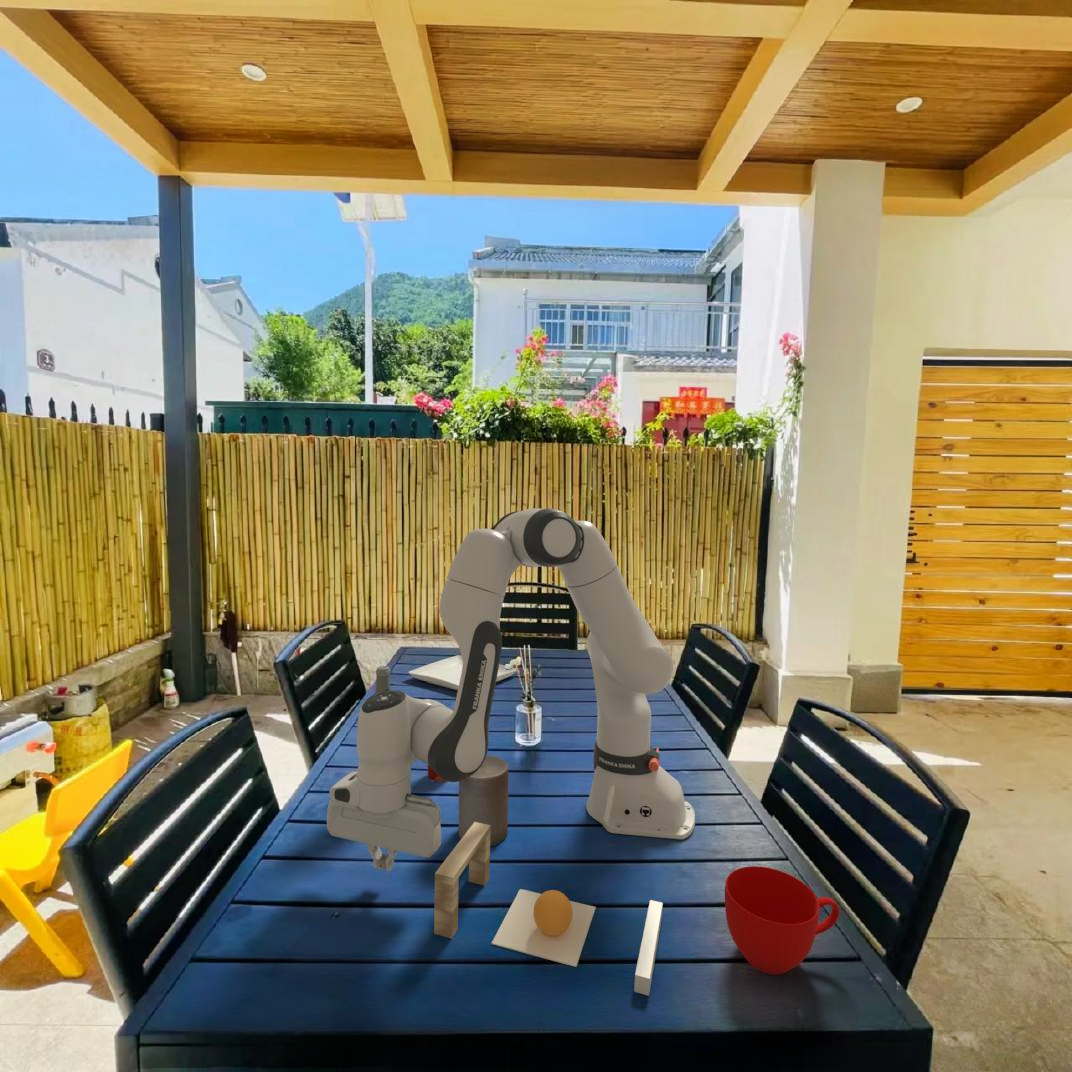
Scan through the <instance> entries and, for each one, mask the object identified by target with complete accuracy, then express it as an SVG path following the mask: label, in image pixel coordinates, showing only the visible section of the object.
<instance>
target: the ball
mask: <svg viewBox="0 0 1072 1072" xmlns="http://www.w3.org/2000/svg"><path fill="white" fill-rule="evenodd" d="M540 894H541V895H540V896H539V897H538V899H537V901H536V903H535V905H534V920H535V923H536V925H537V926H538V928H539V929H540V930H541V931H542V932H543V933H545V934H547V935H551V936H556V935H560V934H562V933H563V932H565V931H566V930H567V928H568V927H569V925H570V923H571V921H572V915H573V912H572V906H571V903H570V901H571V900H570V899H569V898H568V897H567V895H565V893H562V891H559V890H555V889H550V890H549V889H548V890H546V891H543V893H540Z"/></svg>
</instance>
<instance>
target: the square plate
mask: <svg viewBox="0 0 1072 1072" xmlns="http://www.w3.org/2000/svg"><path fill="white" fill-rule="evenodd" d="M462 667H463V661H462V654H461V655H458V654H456V655H455V656H451V657H447V658H444V659H441V660H437V661H435V662H432V663H428V664H425V665H424V666H423V665H422V666H420V667H417V668H415V669H412V670H409V671H407V673H408V674H409V675H410V676H411V677H413V678H414V679H417V680H420V681H423V682H426V683H429V684H432V685H436V686H439V687H444V688H447V689H451V690H454V691H457V692H458V687H459V683H460V678H461V673H462ZM511 668H512V669H509V670H506V669H505V665H503V664H500V663H499V669H498V674H497V680H496V683H497V682H500V681H502V680H504V679H507V678H509V677H511V676H513V675H514V674H515V673H517V671H518V669H517V668H515V667H511ZM516 669H517V670H516Z"/></svg>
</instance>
